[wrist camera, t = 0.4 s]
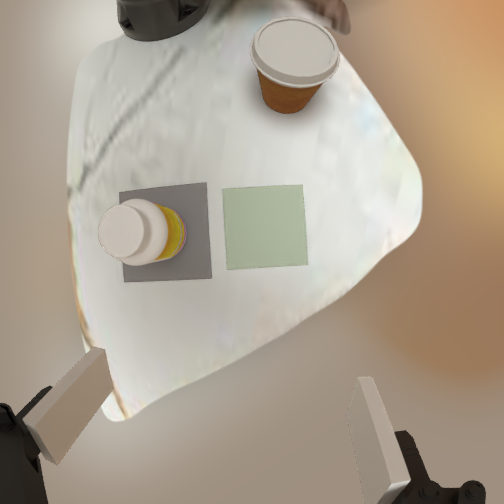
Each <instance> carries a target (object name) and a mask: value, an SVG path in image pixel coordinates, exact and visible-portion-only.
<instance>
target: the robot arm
mask: <svg viewBox="0 0 504 504" xmlns="http://www.w3.org/2000/svg"><path fill="white" fill-rule="evenodd" d="M207 8H208V0H117V13H118V22H119V24H120V26H121V28H122V29H123V31H124V33H125V34H126V35H127V36H129V37H130V38H133V39H135V40H140V41H154V40H160V39H165V38H168V37H171V36H174V35H176V34H179V33H181V32H183V31H185V30H186V29H188V28H190V27H191V26H193V25H194V24H195V23H196V22H198V21H199V20H200V19H201V18H202V16H203V15H204V14H205V12H206V10H207ZM113 389H114V387H113V383H112V379H111V375H110V371H109V366H108V362H107V357H106V352H105V349H101V348H97V347H93V348H92V349H91V350H90V351H89V352H88V353H87V354H86V355H85V356H84V357H83V358H82V359H81V360H80V361H79V362H78V363H77V364H76V365H75V366H74V367H73V368H72V369H71V370H70V371H69V372H68V373H67V374H66V375H65V376H64V377H63V378H62V379H61V380H60V381H59V382H58V383H57V384H56V385H55V386H54V387H51V386H48V387H46V388H44V389H42V390H41V391H40V392H39V393H38V394H37V395H36V397H34V398H33V399H32V400H31V402H29V403H28V404H27V405H26V406H25V407H24V408H23V409H22V410H21V411H20V412H19V413H18V414H17V415H16V416H15V415H14V413H13V411H12V409H11V407H10V406H9V405H7V404H5V403H0V504H48V500H47V495H46V491H45V486H44V481H43V476H42V470H41V464H40V459H39V457H38V455H39V453H40V452H41V453H42V454H43V456H44V457H45V459H46V460H48V461H50V462H52V463H54V464H56V465H58V464H59V463H60V462H61V460H62V459H63V457H64V456H65V454H66V453H67V452H68V450H69V449H70V447H71V446H72V445H73V443H74V442H75V440H76V439H77V438H78V436H79V435H80V433H81V432H82V431H83V429H84V428H85V427H86V425H87V424H88V422H89V421H90V420H91V418H92V417H93V416H94V414H95V413H96V412H97V410H98V409H99V407H100V406H101V405H102V403H103V402H104V401H105V399H106V398H107V397H108V395H109V394H110V393H111V391H112V390H113ZM346 418H347V422H348V427H349V431H350V435H351V440H352V444H353V449H354V454H355V458H356V464H357V468H358V473H359V478H360V483H361V489H362V494H363V499H364V504H485V498H486V492H485V488H484V486H483V485H482V484H481V483H480V482H478V481H474V480H472V481H467V482H466V483H464V484H463V485H462V486H461V487H460V488H442V487H440V485H439V484H438V483H436V482H434V481H431V480H430V478H429V476H428V474H427V471H426V469H425V466H424V464H423V461H422V459H421V456H420V455H419V451H418V449H417V448H416V444H415V442H414V439H413V437H412V436H411V435H410V434H409V433H408V432H407V431H406V430H405V431H398V432H394V431H393V428H392V425H391V423H390V420H389V418H388V415H387V413H386V410H385V407H384V405H383V403H382V400H381V397H380V395H379V393H378V390H377V387H376V385H375V383H374V380H373V378H372V377H358V378H357V381H356V385H355V388H354V392H353V395H352V398H351V401H350V404H349V408H348V411H347V414H346Z"/></svg>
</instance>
